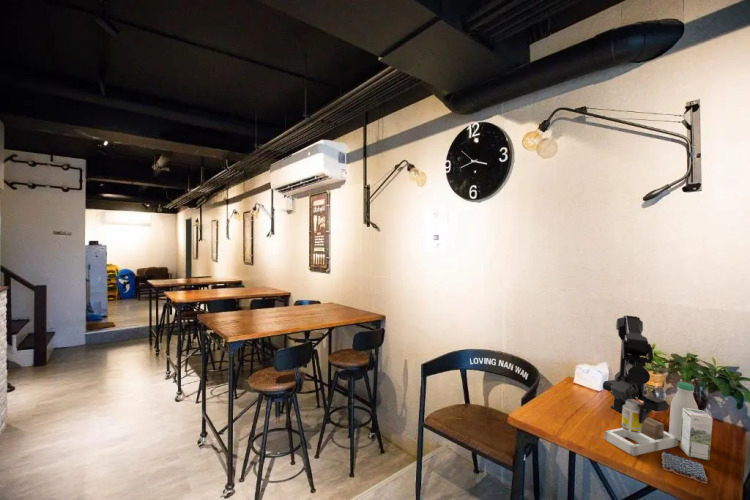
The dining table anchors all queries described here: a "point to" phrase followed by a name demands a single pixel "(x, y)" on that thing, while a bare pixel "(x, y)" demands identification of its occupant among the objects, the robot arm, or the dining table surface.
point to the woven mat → (683, 467)
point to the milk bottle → (680, 407)
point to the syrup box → (696, 433)
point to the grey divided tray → (639, 441)
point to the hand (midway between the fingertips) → (631, 418)
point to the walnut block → (652, 428)
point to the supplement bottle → (631, 417)
